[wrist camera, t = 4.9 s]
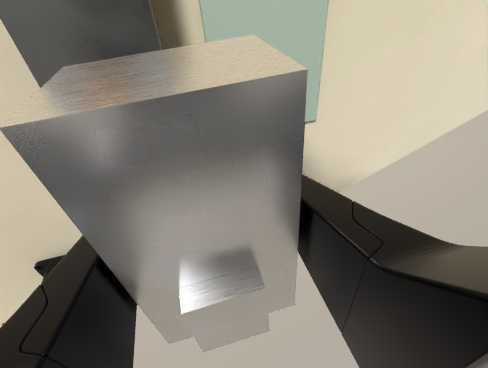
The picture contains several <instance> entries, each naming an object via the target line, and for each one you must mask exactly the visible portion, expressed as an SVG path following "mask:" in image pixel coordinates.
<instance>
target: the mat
mask: <svg viewBox="0 0 488 368" xmlns="http://www.w3.org/2000/svg"><path fill="white" fill-rule="evenodd" d="M199 3H200V10H201V16H202V22H203V29H204V35H205V41H206V42H212V41H218V40H224V39H230V38H236V37H242V36H248V35H255V36H256V37H258V38H259V39H261V40H262V41H264V42H266V43H267V44H269V45H270V46H272V47H274V48H275V49H277V50H278V51H280V52H282V53H283V54H285V55H286V56H288V57H289V58H291V59H293V60H294V61H296V62H297V63H299V64H301V65H302V66H304V67H305V68H307V69H308V75H307V93H306V111H305V122H308V121H313V120H316V115H317V105H318V95H319V85H320V75H321V66H322V56H323V46H324V36H325V26H326V17H327V7H328V0H199Z"/></svg>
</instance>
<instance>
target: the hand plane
mask: <svg viewBox="0 0 488 368" xmlns="http://www.w3.org/2000/svg"><path fill="white" fill-rule="evenodd" d="M0 19H1V20H2V22H3V24H4V26H5V27H6V29H7V31H8V33H9V34H10V36H11V38H12V39H13V41H14V43H15V45H16V46H17V48H18V50H19V52H20V53H21V55H22V57H23V59H24V60H25V62H26V64H27V65H28V67H29V69H30V71H31V72H32V74H33V76H34V78H35V79H36V81H37V83H38V85H39V86H40V88H41V87H42V86H43V85H45V84H46V83H47V82H48V81H49V80H50V79H51V78H52V77H53V76H54V75H55V74H56V73H57V72H58V71H59V70H60V69H61V68H62V67H63V66H69V65H75V64H81V63H87V62H93V61H99V60H105V59H111V58H117V57H123V56H129V55H135V54H141V53H147V52H153V51H159V50H163V47H162V43H161V39H160V35H159V31H158V27H157V23H156V19H155V15H154V11H153V7H152V3H151V0H0Z"/></svg>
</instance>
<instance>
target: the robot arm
mask: <svg viewBox="0 0 488 368" xmlns="http://www.w3.org/2000/svg"><path fill="white" fill-rule="evenodd" d="M298 252H299V254H300V256H301V258H302V260H303V262H304V264H305V266H306V268H307V269H308V271H309V273H310V275H311V277H312V279H313V281H314V283H315V285H316V286H317V288H318V290H319V292H320V294H321V296H322V298H323V300H324V301H325V303H326V305H327V307H328V309H329V311H330V313H331V315H332V316H333V318H334V320H335V322H336V324H337V326H338V328H339V330H340V331H341V332H342V336H343V338H344V339H345V341H346V343H347V345H348V347H349V349H350V351H351V353H352V355H353V356H354V358H355V360H356V362H357V364H358V366H359V368H488V247H478V246H477V247H476V246H463V245H457V244H453V243H449V242H445V241H443V240H440V239H437V238H435V237H432V236H430V235H427V234H425V233H423V232H420V231H418V230H416V229H413V228H411V227H408V226H406V225H404V224H402V223H399V222H397V221H394V220H392V219H390V218H388V217H385V216H383V215H381V214H379V213H377V212H375V211H373V210H371V209H368V208H366V207H364V206H362V205H361V204H359V203H357V202H355V201H353V202H352V200H351V199H349V198H347V197H345V196H343V195H341V194H339V193H337V192H335V191H333V190H332V189H330V188H328V187H326V186H324V185H322V184H320V183H318V182H316V181H314V180H312V179H310V178H308V177H307V176H305V175H303V174H302V182H301V200H300V218H299V235H298ZM34 268H35V270H36V271H37V272H38V273H40V274H41V275H42V276H43V277H44V278H43V280H42V283H41V285H39V286H38V287H37V288H36V290H35V291H34V292H33V293H32V294H31V295H30V296H29V298H28V299H27V300H26V301H25V302H24V303H23V304H22V305H21V306H20V308H19V309H18V310H17V311H16V312H15V313H14V314H13V315H12V316H11V317H10V318H9V319H8V320H7V321H6V323H4V324H3V325H2V327H1V328H0V368H133V357H134V342H135V326H136V310H137V303H136V301H135V300H134V299H133V298H132V296H131V295H130V294H129V293H128V291H127V290H126V289H125V288H124V286H123V285H122V284H121V282H120V281H119V280H118V279H117V277H116V276H115V275H114V274H113V272H112V271H111V270H110V268H109V267H108V266H107V265H106V263H105V262H104V261H103V260H102V258H101V257H100V256H99V255H98V253H97V252H96V251H95V249H94V248H93V247H92V246H91V244H90V243H89V242H88V241H87V239H86V238H85V237H84V235H83V236H82V237H81V238H80V239H79V240H78V241H77V243H76V244H75V245H74V246H73V247H72V248H71V249H70V251H69V252H68V253H67V254H66V255H64V256H60V257H56V258H51V259H47V260H43V261H39V262H37V263H36V264H35V266H34Z"/></svg>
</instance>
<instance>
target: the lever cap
mask: <svg viewBox="0 0 488 368" xmlns="http://www.w3.org/2000/svg"><path fill="white" fill-rule="evenodd" d="M307 75H308V69H307V68H305V67H304V66H302V65H301V64H299V63H297V62H296V61H294V60H293V59H291V58H289V57H288V56H286V55H285V54H283V53H282V52H280V51H278V50H277V49H275V48H274V47H272V46H270V45H269V44H267V43H266V42H264V41H262V40H261V39H259V38H258V37H256V36H255V35H248V36H242V37H236V38H230V39H224V40H218V41H212V42H206V43H200V44H194V45H188V46H183V47H177V48H171V49H165V50H159V51H153V52H147V53H141V54H135V55H129V56H123V57H117V58H111V59H105V60H99V61H93V62H87V63H81V64H75V65H69V66H63V67H62V68H61V69H60V70H59V71H58V72H57V73H56V74H55V75H54V76H53V77H52V78H51V79H50V80H49V81H48V82H47V83H46V84H45V85H43V86H42V87H41V88H40V89H39V90H38V91H37V92H36V93H35V94H34V95H33V96H32V97H31V98H30V99H29V100H28V101H27V102H26V103H25V104H24V105H23V106H21V107H20V108H19V109H18V110H17V111H16V112H15V113H14V114H13V115H12V116H11V117H10V118H9V119H8V120H7V121H6V122H5V123H4V124H3V125H2V126H1V127H0V130H1V131H2V133H3V134H4V135H5V136H6V138H7V139H8V140H9V142H10V143H11V144H12V145H13V147H14V148H15V149H16V150H17V152H18V153H19V154H20V156H21V157H22V158H23V159H24V161H25V162H26V163H27V164H28V166H29V167H30V168H31V169H32V171H33V172H34V173H35V175H36V176H37V177H38V178H39V180H40V181H41V182H42V183H43V185H44V186H45V187H46V189H47V190H48V191H49V192H50V194H51V195H52V196H53V197H54V199H55V200H56V201H57V202H58V204H59V205H60V206H61V208H62V209H63V210H64V211H65V213H66V214H67V215H68V216H69V218H70V219H71V220H72V222H73V223H74V224H75V225H76V227H77V228H78V229H79V230H80V232H81V233H82V234H83V235H84V237H85V238H86V239H87V241H88V242H89V243H90V244H91V246H92V247H93V248H94V249H95V251H96V252H97V253H98V255H99V256H100V257H101V258H102V260H103V261H104V262H105V263H106V265H107V266H108V267H109V268H110V270H111V271H112V272H113V274H114V275H115V276H116V277H117V279H118V280H119V281H120V282H121V284H122V285H123V286H124V288H125V289H126V290H127V291H128V293H129V294H130V295H131V296H132V298H133V299H134V300H135V301H136V303H137V304H138V305H139V307H140V308H141V309H142V310H143V312H144V313H145V314H146V315H147V317H148V318H149V319H150V321H151V322H152V323H153V324H154V326H155V327H156V328H157V329H158V331H159V332H160V333H161V334H162V336H163V337H164V338H165V340H166V341H167V342H168V343H169V344H171V343H174V342H177V341H181V340H184V339H187V338H190V337H193V336H194V337H195V338H196V340H197V342H198V344H199V345H200V347H201V349H202V350H203V352H205V351H208V350H211V349H214V348H217V347H220V346H223V345H227V344H230V343H233V342H236V341H239V340H242V339H245V338H248V337H251V336H254V335H258V334H260V333H264V332H267V331H269V319H268V313H270V312H273V311H276V310H280V309H283V308H286V307H289V306H292V305H295V288H296V271H297V252H298V235H299V218H300V200H301V182H302V164H303V147H304V129H305V111H306V93H307Z"/></svg>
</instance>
